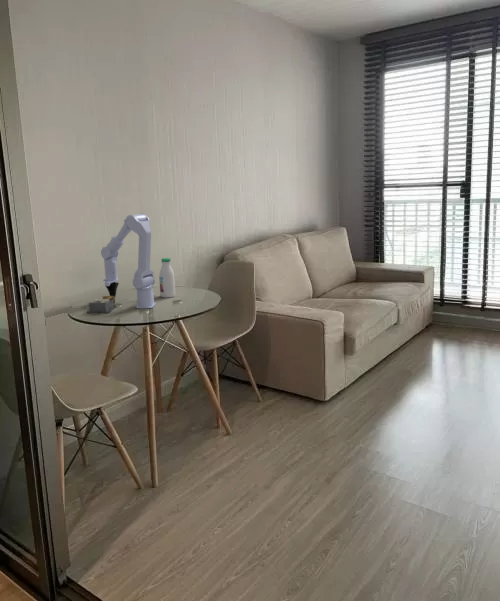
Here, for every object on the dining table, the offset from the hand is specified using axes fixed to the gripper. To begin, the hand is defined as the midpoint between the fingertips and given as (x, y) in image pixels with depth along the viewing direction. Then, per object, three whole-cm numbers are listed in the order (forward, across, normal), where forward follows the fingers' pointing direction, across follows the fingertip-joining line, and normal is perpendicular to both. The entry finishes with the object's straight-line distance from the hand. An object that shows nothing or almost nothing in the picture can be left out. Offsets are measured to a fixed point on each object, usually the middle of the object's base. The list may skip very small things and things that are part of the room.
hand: (113, 297), depth 271 cm
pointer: (+1, +17, 0) cm, 17 cm away
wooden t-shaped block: (+2, +10, 0) cm, 11 cm away
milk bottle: (+2, -12, +25) cm, 28 cm away
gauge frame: (+2, +16, 0) cm, 17 cm away
